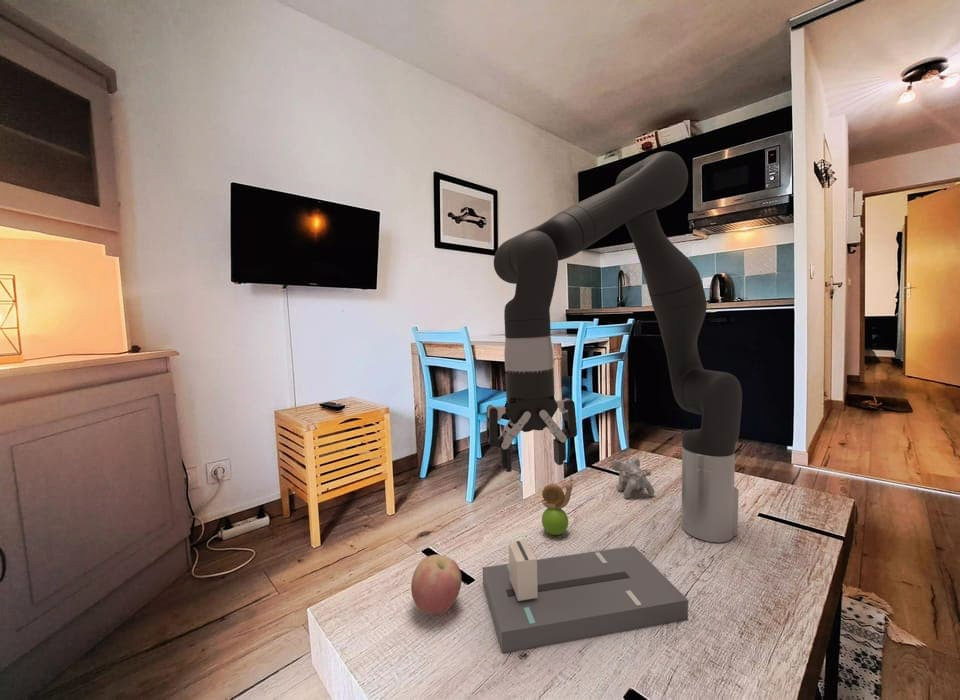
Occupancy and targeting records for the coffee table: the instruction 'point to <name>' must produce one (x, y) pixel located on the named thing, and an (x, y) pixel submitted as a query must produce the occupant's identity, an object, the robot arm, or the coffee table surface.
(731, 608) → the coffee table surface
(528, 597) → the fader
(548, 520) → the snail figurine
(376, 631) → the coffee table surface
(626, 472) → the grey animal figurine
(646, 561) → the fader console
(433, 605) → the apple
